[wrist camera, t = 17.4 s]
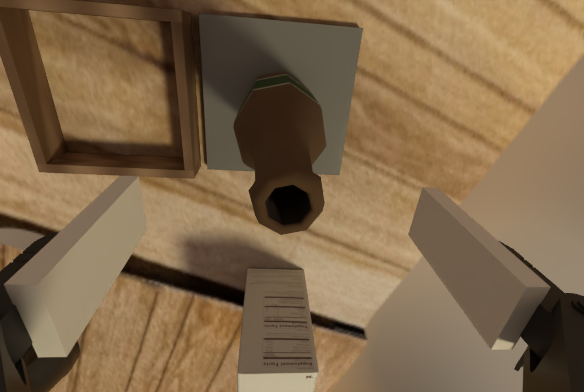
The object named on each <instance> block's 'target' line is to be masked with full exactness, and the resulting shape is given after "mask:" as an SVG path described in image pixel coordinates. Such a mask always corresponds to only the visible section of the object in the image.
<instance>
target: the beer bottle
mask: <svg viewBox="0 0 584 392" xmlns="http://www.w3.org/2000/svg"><path fill="white" fill-rule="evenodd" d="M233 129H234V132H235V136H236V139H237V143H238V147H239V150H240V154H241V158H242V161H243V163H244V164H245V165H247V166H248V167H250V168H252V169H253V170H255V182H254V184H253V185H252V187H251V188H250V189H249V194H250V198H251V201H252V205H253V208H254V212H255V216H256V218H257V220H258V222H259V223H260V224H262V225H264V226H266V227H268V228H269V229H271V230H273V231H275V232H277V233H279V234H281V235H282V234H288V233H293V232H299V231H304V230H307V229H308V228H309V227H310V225H311V224H312V223H313V222H314V221H315V219H316V218H317V217H318V216H319V215H320V213H321V212H322V211H323V207H324V197H323V190H322V183H321V177H320V176H318V175H317V174H315V173H313V170H312V165H313V164H314V162H315V161H316V160H317V158H318V157H319V156H320V154H321V153H322V152H323V150H324V149H325V147H326V146H327V145H326V138H325V130H324V123H323V115H322V109H321V106H320V104H319V103H318V101H317V100H316V99H315V97H314V96H313V94H312V93H311V92H310V90H309V89H308V88H307V87H305V86H304V85H303V84H301V83H300V82H299V81H297V80H296V79H295V78H293V77H292V76H290V75H289V74H288V73H286V72H285V71H282V72H277V73H272V74H267V75H262V76H258V77H257V79H256V80H255V82H254V84H253V85H252V87H251V89H250V90H249V92H248V94H247V95H246V97H245V99H244V100H243V102H242V104H241V107H240V109H239V111H238V114H237V116H236V118H235V121H234V126H233Z"/></svg>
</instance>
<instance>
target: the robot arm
mask: <svg viewBox="0 0 584 392" xmlns="http://www.w3.org/2000/svg"><path fill="white" fill-rule="evenodd" d="M147 229H148V228H147V223H146V217H145V211H144V205H143V199H142V193H141V187H140V181H139V176H119V177H118V178H117V179H116V180H115V181H114V182H113V183H112V184H111V185H110V186H109V187H108V188H107V189H105V190H104V191H103V192H102V193H101V194H100V195H99V196H98V197H97V198H96V199H95V200H94V201H93V202H92V203H90V204H89V205H88V206H87V207H86V208H85V209H84V210H83V211H82V212H81V213H80V214H79V215H78V216H77V217H75V218H74V219H73V220H72V221H71V222H70V223H69V224H68V225H67V226H66V227H65V228H64V229H63V230H62V231H60V232H59V233H50V234H48V235H46V236H44V237H42V238H40V239H38V240H37V241H35V242H34V243H32V244H31V245H30V246H29V247H28V248H27V249H26V250H24V251H23V254H20V255H19V256H18V257H16V258H15V259H14V260H13V263H9V264H8V265H7V266H6V267H5V268H4V269H3V270H1V271H0V392H49V391H50V390H51V389H52V388H53V387H54V386H55V385H56V384H57V383H58V382H59V381H60V380H61V379H62V378H63V377H64V376H65V375H67V374H68V372H69V371H70V370H71V369H72V367H73V365H74V364H75V362H76V360H77V359H78V357H79V353H80V349H79V345H78V342H77V340H78V338H79V337H80V335H81V334H82V332H83V330H84V329H85V327H86V326H87V324H88V323H89V321H90V319H91V318H92V316H93V315H94V313H95V311H96V310H97V308H98V307H99V305H100V303H101V302H102V300H103V299H104V297H105V296H106V294H107V292H108V291H109V289H110V288H111V286H112V284H113V283H114V281H115V280H116V278H117V277H118V275H119V273H120V272H121V270H122V269H123V267H124V265H125V264H126V262H127V261H128V259H129V257H130V256H131V254H132V253H133V251H134V250H135V248H136V246H137V245H138V243H139V242H140V240H141V238H142V237H143V235H144V234H145V232H146V230H147ZM408 235H409V236H410V238H411V239H412V240H413V242H414V243H415V245H416V246H417V247H418V249H419V250H420V251H421V253H422V254H423V256H424V257H425V258H426V260H427V261H428V262H429V264H430V265H431V267H432V268H433V269H434V271H435V272H436V274H437V275H438V276H439V278H440V279H441V281H442V282H443V284H444V285H445V286H446V288H447V289H448V290H449V292H450V293H451V295H452V296H453V297H454V299H455V300H456V302H457V303H458V304H459V306H460V307H461V308H462V310H463V311H464V313H465V314H466V315H467V317H468V318H469V320H470V321H471V322H472V324H473V325H474V326H475V328H476V329H477V331H478V332H479V334H480V335H481V336H482V338H483V339H484V340H485V342H486V343H487V345H488V346H489V347H490V349H491V350H499V349H500V350H505V349H513V348H514V346H515V344H516V343H517V341H518V340H519V338H520V336H521V337H522V339H523V340H524V341H525V342H526V343H527V344H528V347H527V349H526V351H525V352H524V353H523V355H522V357H521V358H520V360H519V361H518V363H517V364H516V366H515V370H517V371H519V369H520V367H523V392H584V296H581V295H578V294H573V293H564V292H563V291H562V290H560V289H559V288H558V287H557V286H556V285H555V284H553V283H552V282H551V281H550V280H549V279H548V278H546V277H545V276H544V275H543V274H542V273H541V272H539V271H538V270H537V269H536V268H533V266H532V265H531V264H530V263H529V262H528V261H526V260H524V258H523V257H522V256H521V255H520V254H518V253H517V252H516V251H515V250H514V249H512V248H510V247H509V246H507V245H505V244H503V243H502V242H500V241H497V240H496V239H495V238H494V237H493V236H492V235H491V234H490V233H489V232H487V231H486V230H485V229H484V228H483V227H482V226H481V225H479V224H478V223H477V222H476V221H475V220H474V219H473V218H471V217H470V216H469V215H468V214H467V213H466V212H465V211H463V210H462V209H461V208H460V207H459V206H458V205H457V204H456V203H454V202H453V201H452V200H451V199H450V198H449V197H448V196H446V195H445V194H444V193H443V192H442V191H441V190H440V189H438V188H428V187H423V188H422V191H421V195H420V198H419V201H418V204H417V208H416V211H415V214H414V218H413V221H412V224H411V228H410V231H409V234H408Z"/></svg>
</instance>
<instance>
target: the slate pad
mask: <svg viewBox="0 0 584 392" xmlns="http://www.w3.org/2000/svg"><path fill="white" fill-rule="evenodd" d="M199 27H200V45H201V62H202V80H203V98H204V115H205V133H206V151H207V168H208V169H214V170H236V171H255V170H253V169H252V168H250V167H248V166H247V165H245V164H244V163H243V161H242V158H241V154H240V150H239V147H238V143H237V139H236V136H235V132H234V129H233V126H234V121H235V118H236V116H237V114H238V111H239V109H240V107H241V104H242V102H243V100H244V99H245V97H246V95H247V94H248V92H249V90H250V89H251V87H252V85H253V84H254V82H255V80H256V79H257V77H258V76H262V75H267V74H272V73H277V72H282V71H285V72H286V73H288V74H289V75H290V76H292V77H293V78H295V79H296V80H297V81H299V82H300V83H301V84H303V85H304V86H305V87H307V88H308V89H309V90H310V92H311V93H312V94H313V96H314V97H315V99H316V100H317V101H318V103H319V104H320V106H321V109H322V115H323V123H324V130H325V138H326V145H327V146H326V147H325V149H324V150H323V152H322V153H321V154H320V156H319V157H318V158H317V160H316V161H315V162H314V164H313V165H312V170H313V173H315V174H325V175H339V174H340V167H341V161H342V155H343V149H344V142H345V136H346V130H347V124H348V118H349V111H350V105H351V99H352V93H353V86H354V80H355V74H356V68H357V62H358V55H359V49H360V43H361V37H362V31H363V28H356V27H345V26H334V25H323V24H312V23H301V22H290V21H279V20H268V19H257V18H246V17H235V16H224V15H213V14H202V13H199Z"/></svg>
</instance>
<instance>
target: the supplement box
mask: <svg viewBox="0 0 584 392" xmlns="http://www.w3.org/2000/svg"><path fill="white" fill-rule="evenodd" d="M318 373H319V370H318V363H317V356H316V350H315V343H314V336H313V330H312V323H311V316H310V309H309V302H308V295H307V288H306V281H305V274H304V270H291V269H252V268H248V269H247V277H246V287H245V297H244V308H243V318H242V328H241V339H240V349H239V360H238V372H237V392H314V387H315V383H316V379H317V376H318Z"/></svg>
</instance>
